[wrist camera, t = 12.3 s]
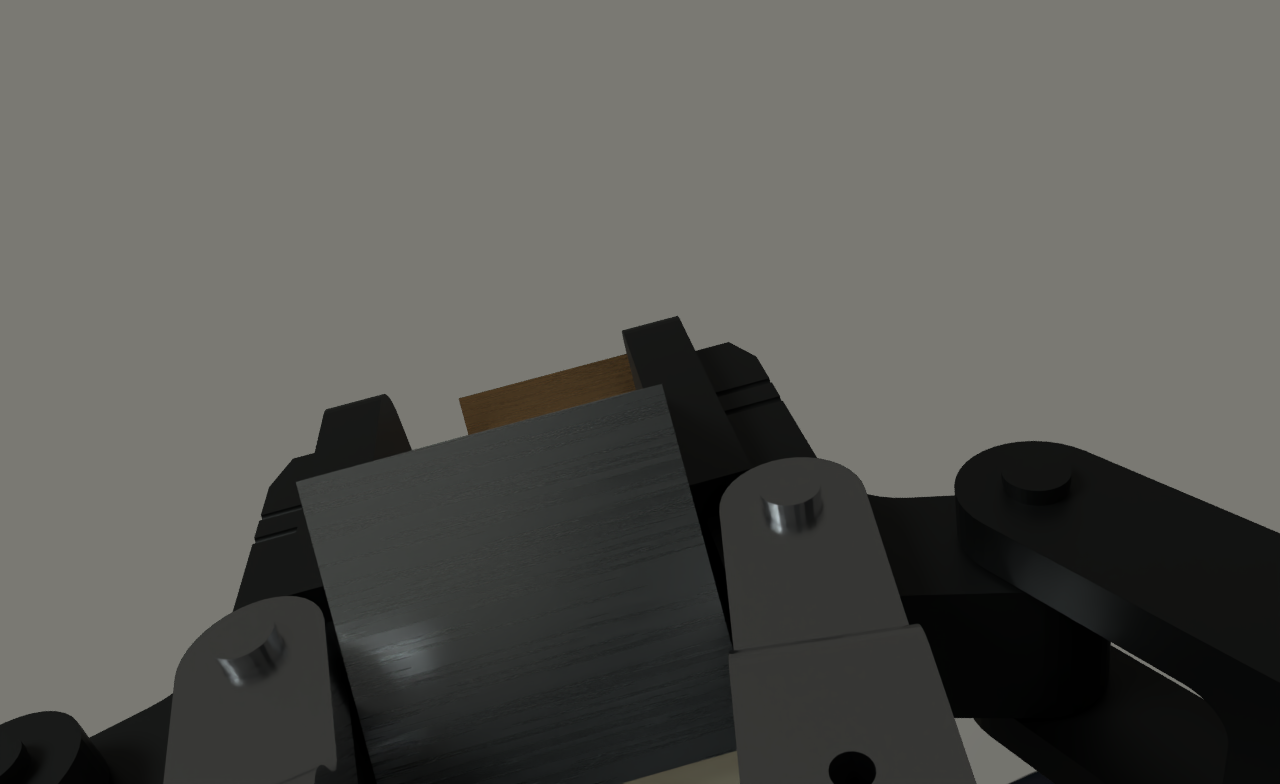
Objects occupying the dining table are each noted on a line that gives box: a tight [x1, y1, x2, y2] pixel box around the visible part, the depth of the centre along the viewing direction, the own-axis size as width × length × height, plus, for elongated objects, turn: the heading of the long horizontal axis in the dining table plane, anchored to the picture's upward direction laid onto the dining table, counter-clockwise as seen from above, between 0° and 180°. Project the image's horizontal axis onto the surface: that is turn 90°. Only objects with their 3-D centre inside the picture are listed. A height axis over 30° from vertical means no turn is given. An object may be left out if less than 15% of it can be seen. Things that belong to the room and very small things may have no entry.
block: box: [296, 354, 737, 784], centre depth 17 cm, size 18×4×4 cm, turn 3°
